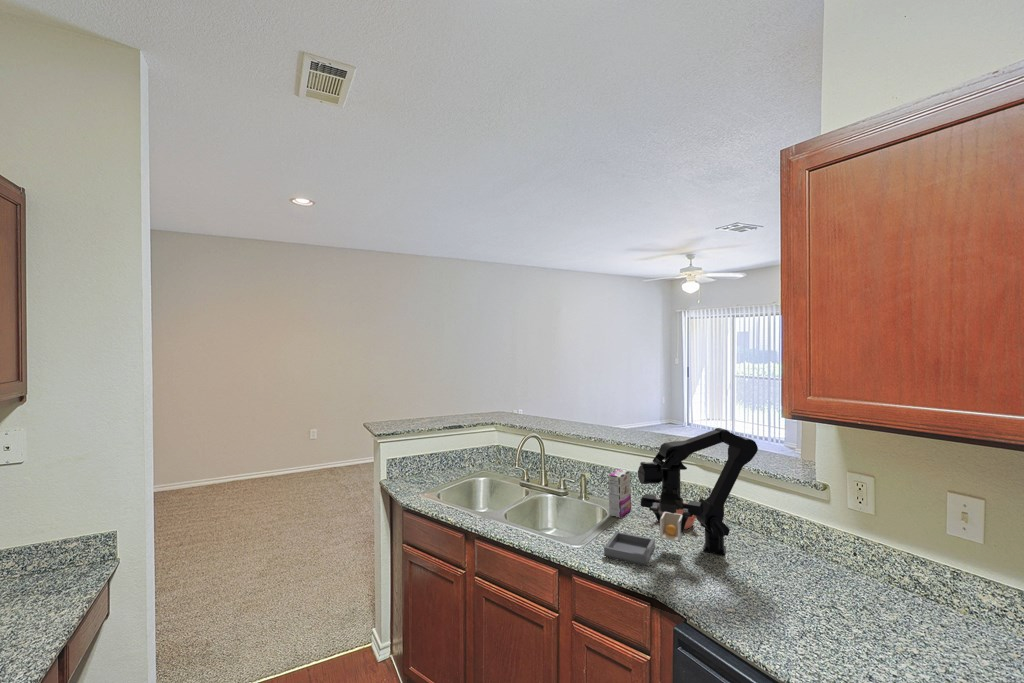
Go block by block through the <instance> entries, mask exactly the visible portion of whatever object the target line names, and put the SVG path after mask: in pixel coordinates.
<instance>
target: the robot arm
mask: <svg viewBox="0 0 1024 683" xmlns="http://www.w3.org/2000/svg"><path fill="white" fill-rule="evenodd" d="M721 443H724V444H726V445H727V447H728V448H727V460H726V462H725V463H724V465H723V468H722V470H721V472H720V475H719V476H718V478H717V480H716V483H715V484H714V486H713V488H712V490H711V493H710V495H709V496H708V497H707V498H705V499H703V498H700V499H699V501H698V500H697V501H696V500H689V501H688V502H686V503H683V502H684V499H683V497H681V496H682V495H681V494H682V492H681V490H682V488H681V487H682V486H681V470H682V471H685V470H687V469H688V467H687V466H685V465H684V464H683V461H684V460H687V459H688V458H689V457H690V456H691V455H692V454H694V453H697V452H700V451H702V450H705V449H707V448H710V447H714V446H716V445H719V444H721ZM758 447H759V446H758V444H757V443H756V441H755V440H753V439H751V438H748V437H745V436H741V435H737V434H734V433H733V432H731V431H729V430H728V429H726V428H725V429H724V428H721V427H717V428H715V429H713V430H710V431H707V432H705V433H702V434H700V435H696V436H694V437H691V438H688V439H686V440H680V441H679V440H678V441H675V440H674V441H668V442H664V443H662V444H661V445H660V447H659V449H658V450H659V451H658V453H656V455H655V457H654V458H653V459H652V462H645V461H641V462H640V464H639V467H638V469H637V478H638V482H639V483H640V484H641V485H652V484H653V485H654V484H657V485H658V484H660V483H661V493H660V496H659V498H658V499H656V497H657V496H656V494H651V493H650V494H649V493H644V494H643V496H642V497H641V498H640V507H642V508H648V509H649V511H652V512H653V514H654V515H655V518H656V519H657V523H658V525H659V527H660V518H661V517H662V512H669V513H672V514H674V513H676V509H677V510H679V509H681V510H682V509H684V512H683V514H682V525H681V533H683V534H684V527H685V524H686V521H687V519H688V517H692V516H694V515H696V518H695V520H697V521H698V522H699V524H700V526H701V527H702V528H704V545H703V548H702V551H703V552H707V553H712V554H717V555H722V556H726V550H727V545H725V537H727V536H729V534H730V530H731V529H730V528H729V527H728V526H727V525H726V524H725V523H724V522H723V521H724V517H725V505H726V504H725V503H726V501H727V499H728V498H729V496H730V494H731V491H732V489H733V488H734V485H735V484H736V481H737V479H738V477H739V475H740V473H741V471H742V469H743V467H744V466H745V465H747V464H748V463H749V462H751V461H752V460H753V459H754V458H755V456H756V454H757V453H758V451H759V448H758Z"/></svg>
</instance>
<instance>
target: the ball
mask: <svg viewBox="0 0 1024 683" xmlns="http://www.w3.org/2000/svg"><path fill="white" fill-rule="evenodd" d="M666 532H667V533H668V534H669V535H675V534H676V528H675V526H673V525H668V526H667V527H666Z"/></svg>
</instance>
